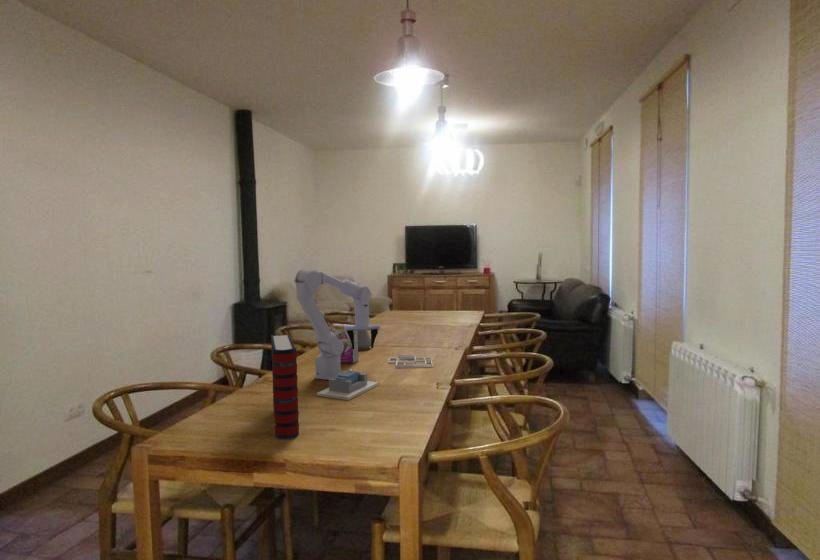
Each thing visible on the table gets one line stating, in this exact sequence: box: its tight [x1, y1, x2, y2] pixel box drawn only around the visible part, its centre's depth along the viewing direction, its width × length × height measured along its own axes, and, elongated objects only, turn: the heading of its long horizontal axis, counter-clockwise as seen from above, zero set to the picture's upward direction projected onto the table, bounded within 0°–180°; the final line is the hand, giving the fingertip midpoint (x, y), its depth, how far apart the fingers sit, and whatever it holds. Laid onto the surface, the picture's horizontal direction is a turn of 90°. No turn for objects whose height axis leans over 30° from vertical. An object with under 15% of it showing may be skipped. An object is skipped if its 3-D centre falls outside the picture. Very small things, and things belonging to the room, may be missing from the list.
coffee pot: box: [352, 321, 371, 351], centre depth 257 cm, size 21×12×15 cm, turn 178°
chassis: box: [316, 372, 379, 401], centre depth 191 cm, size 13×20×5 cm, turn 154°
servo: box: [335, 369, 361, 384], centre depth 190 cm, size 4×10×6 cm, turn 154°
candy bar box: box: [330, 323, 359, 364], centre depth 234 cm, size 11×5×16 cm, turn 65°
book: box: [270, 333, 300, 440], centre depth 156 cm, size 25×7×25 cm, turn 16°
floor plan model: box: [387, 354, 434, 369], centre depth 231 cm, size 19×25×2 cm
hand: (362, 348), depth 217 cm, fingers open, 7 cm apart
